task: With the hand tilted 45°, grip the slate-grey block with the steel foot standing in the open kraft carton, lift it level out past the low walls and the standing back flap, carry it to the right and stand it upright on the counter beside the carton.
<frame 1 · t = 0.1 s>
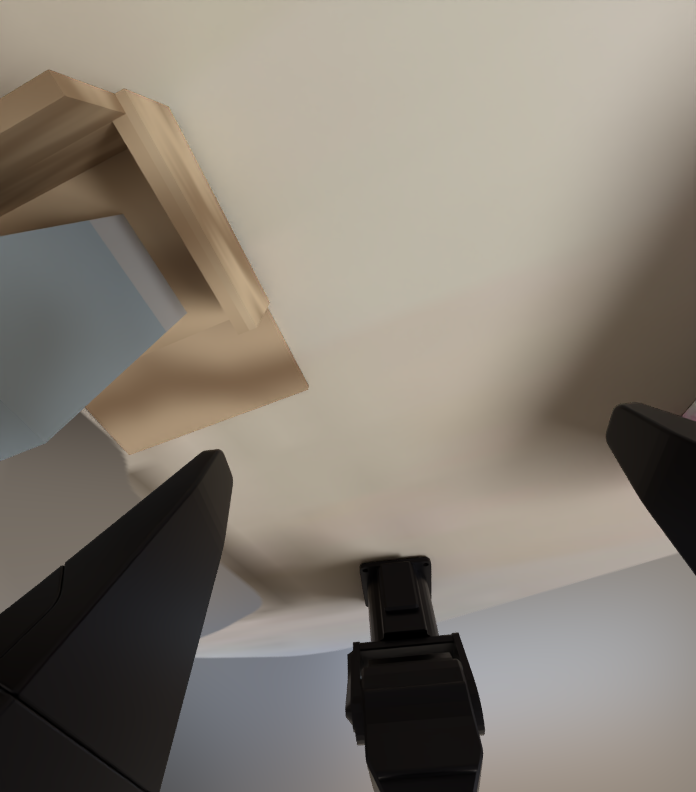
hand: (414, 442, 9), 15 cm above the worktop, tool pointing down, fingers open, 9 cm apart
slate block: (115, 286, 20), resting on kraft carton
kraft carton: (119, 283, 21), on the worktop
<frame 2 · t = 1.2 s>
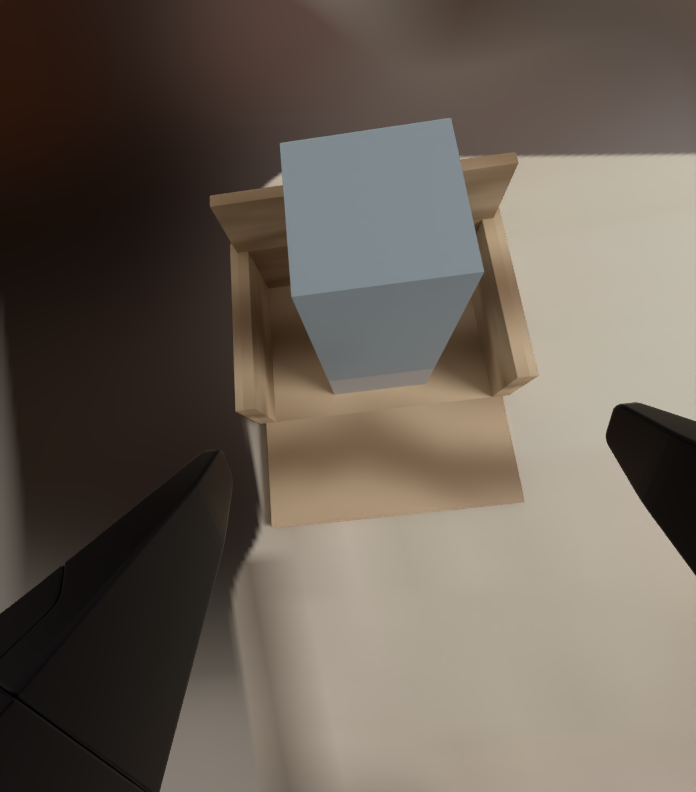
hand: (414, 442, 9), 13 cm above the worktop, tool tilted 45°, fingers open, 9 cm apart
slate block: (374, 346, 23), resting on kraft carton
kraft carton: (374, 349, 23), on the worktop
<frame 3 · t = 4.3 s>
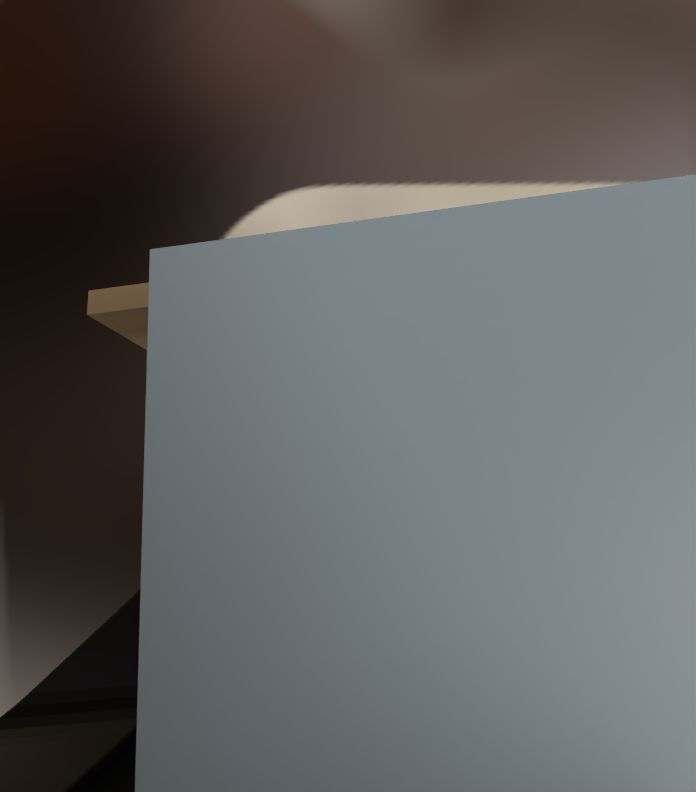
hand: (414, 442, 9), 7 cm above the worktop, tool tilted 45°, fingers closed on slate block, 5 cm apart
slate block: (402, 496, 14), resting on kraft carton, touching gripper
kraft carton: (401, 495, 15), on the worktop
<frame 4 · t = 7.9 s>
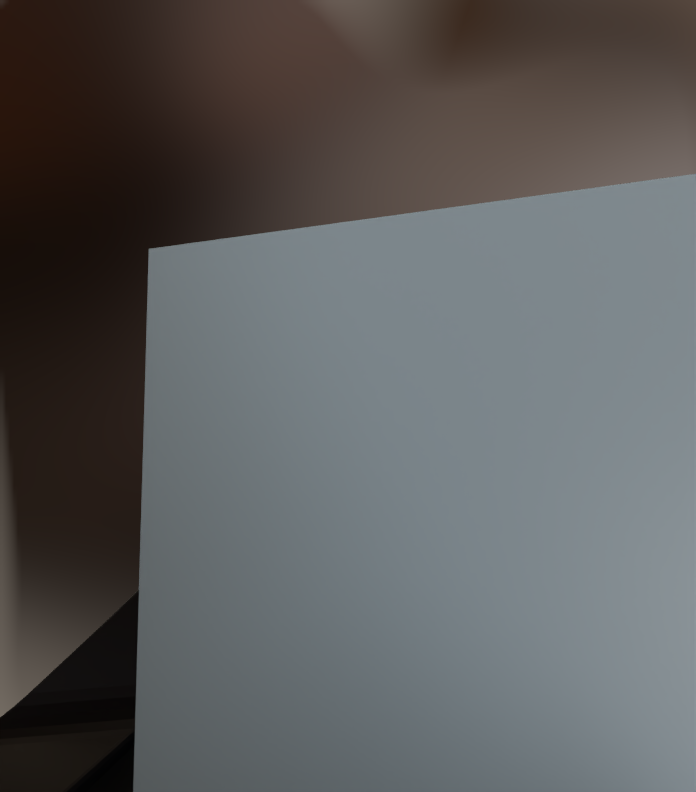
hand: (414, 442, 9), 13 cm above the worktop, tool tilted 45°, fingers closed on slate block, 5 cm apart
slate block: (402, 495, 14), point 7 cm above the worktop, touching gripper
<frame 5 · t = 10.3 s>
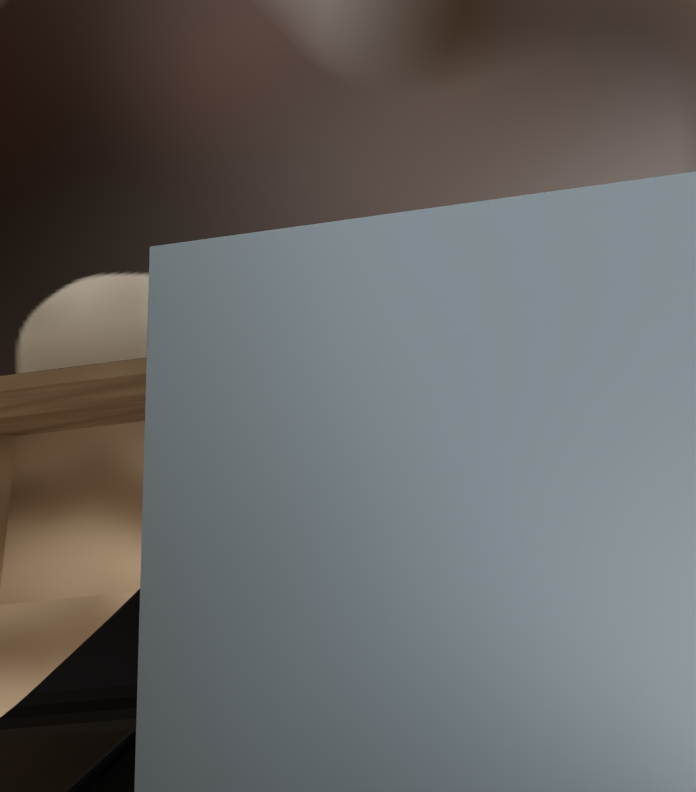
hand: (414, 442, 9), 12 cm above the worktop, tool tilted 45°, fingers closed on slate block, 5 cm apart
slate block: (402, 495, 14), point 6 cm above the worktop, touching gripper
kraft carton: (125, 511, 20), on the worktop
when the fingers open (7 cm above the worktop, at t = 12.0 s): slate block drops 1 cm, on the worktop.
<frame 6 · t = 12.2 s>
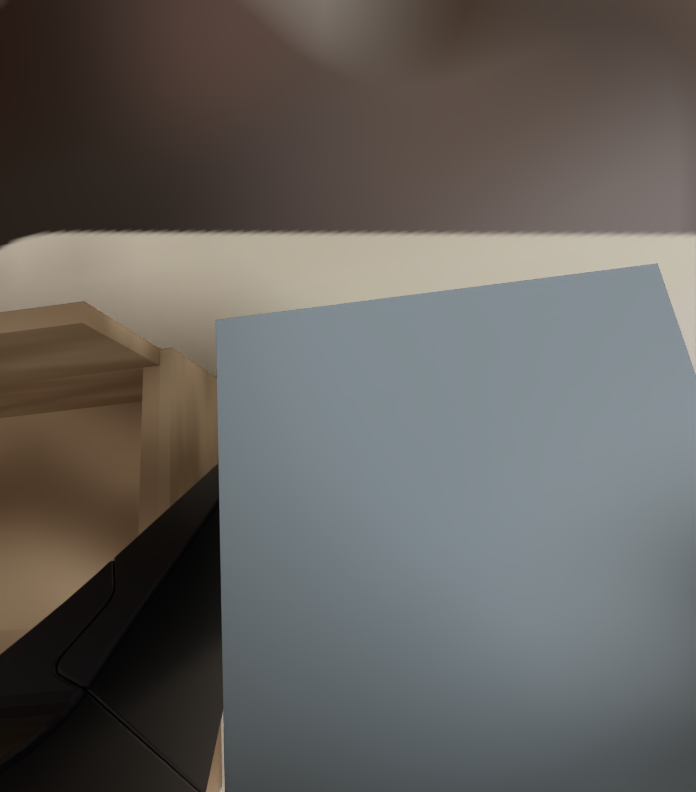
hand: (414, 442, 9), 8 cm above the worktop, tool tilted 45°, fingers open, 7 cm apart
slate block: (398, 494, 16), on the worktop
kraft carton: (61, 521, 16), on the worktop
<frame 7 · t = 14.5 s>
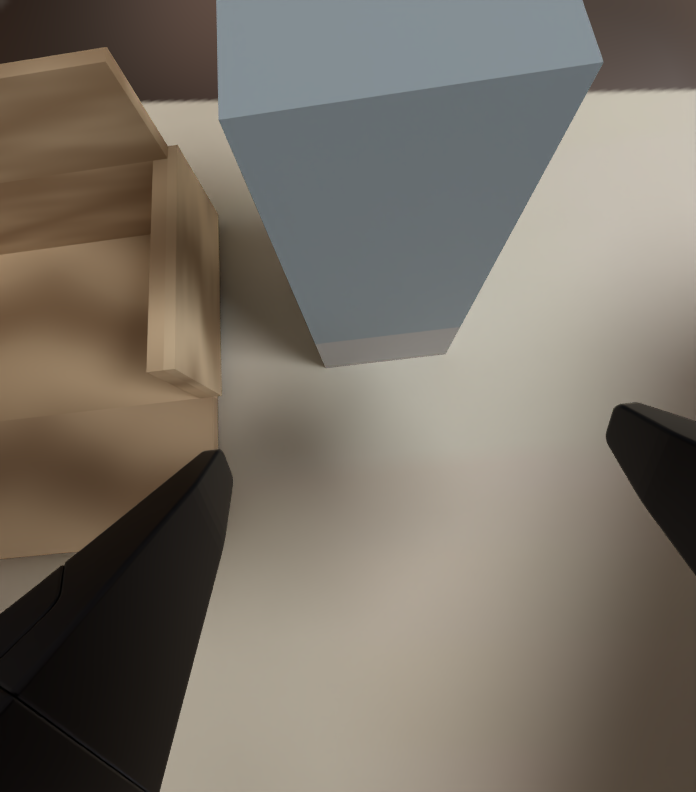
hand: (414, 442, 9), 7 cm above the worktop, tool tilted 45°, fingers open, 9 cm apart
slate block: (378, 306, 18), on the worktop
kraft carton: (78, 336, 18), on the worktop
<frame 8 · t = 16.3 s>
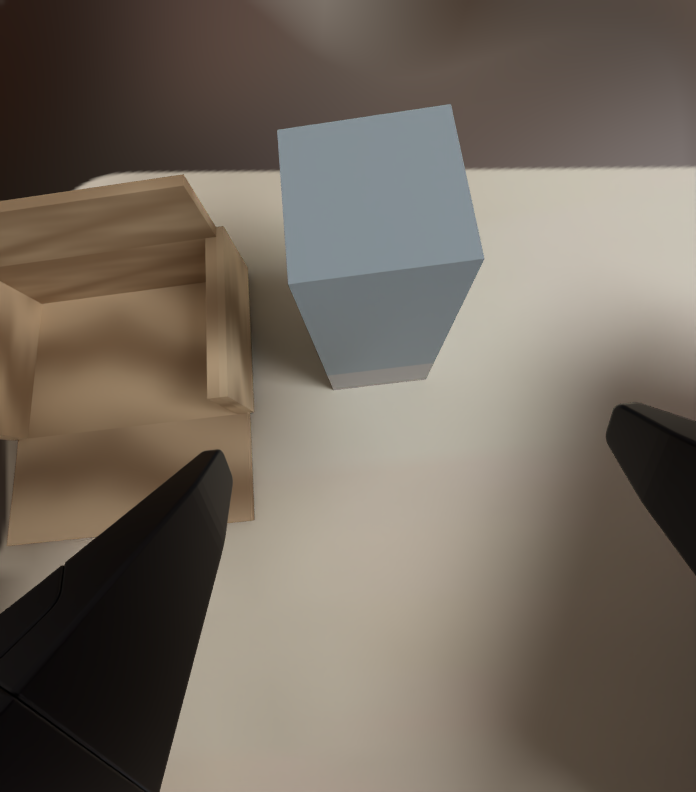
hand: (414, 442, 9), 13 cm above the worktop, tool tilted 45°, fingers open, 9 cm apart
slate block: (373, 341, 23), on the worktop
kraft carton: (138, 365, 23), on the worktop
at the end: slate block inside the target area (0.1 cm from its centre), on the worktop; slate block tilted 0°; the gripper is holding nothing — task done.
